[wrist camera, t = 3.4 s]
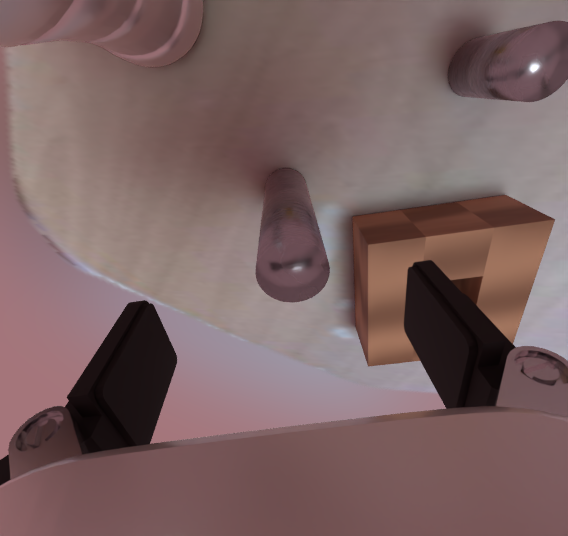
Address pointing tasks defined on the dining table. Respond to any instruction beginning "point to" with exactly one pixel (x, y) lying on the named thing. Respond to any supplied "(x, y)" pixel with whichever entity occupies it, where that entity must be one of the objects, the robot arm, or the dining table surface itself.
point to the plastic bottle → (107, 26)
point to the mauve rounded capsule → (512, 64)
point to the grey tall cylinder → (290, 241)
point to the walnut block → (444, 265)
